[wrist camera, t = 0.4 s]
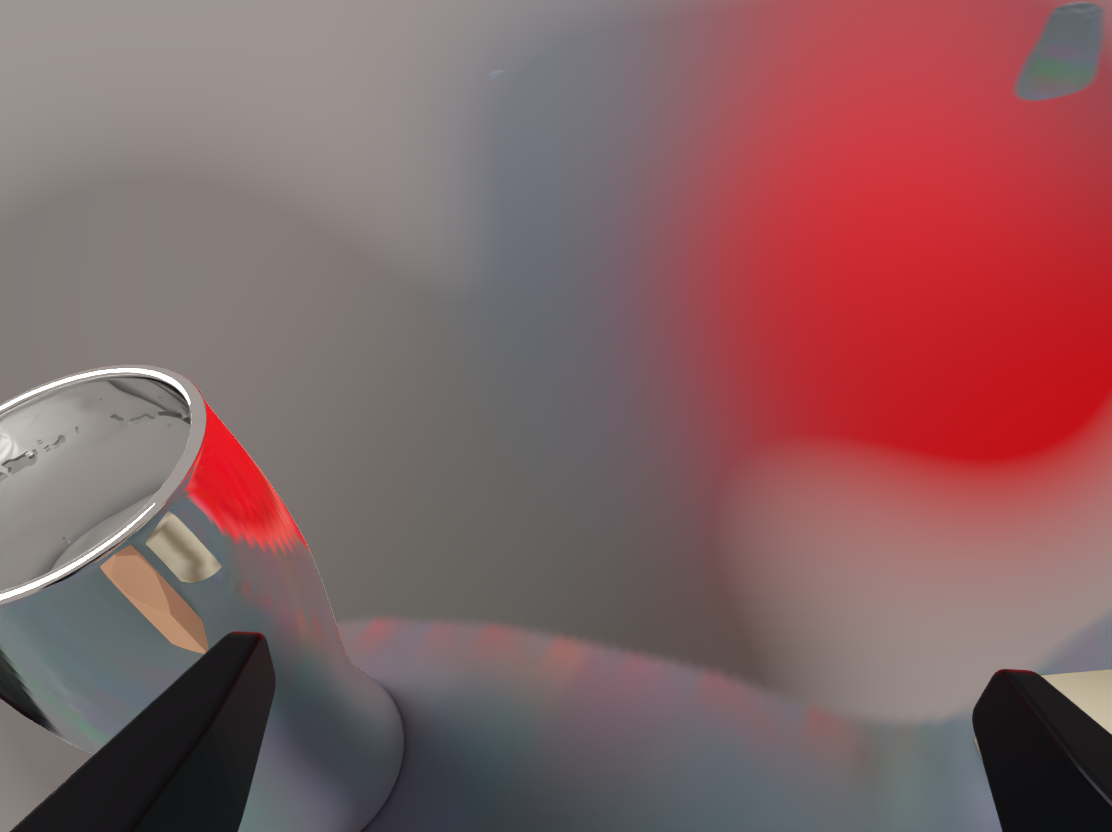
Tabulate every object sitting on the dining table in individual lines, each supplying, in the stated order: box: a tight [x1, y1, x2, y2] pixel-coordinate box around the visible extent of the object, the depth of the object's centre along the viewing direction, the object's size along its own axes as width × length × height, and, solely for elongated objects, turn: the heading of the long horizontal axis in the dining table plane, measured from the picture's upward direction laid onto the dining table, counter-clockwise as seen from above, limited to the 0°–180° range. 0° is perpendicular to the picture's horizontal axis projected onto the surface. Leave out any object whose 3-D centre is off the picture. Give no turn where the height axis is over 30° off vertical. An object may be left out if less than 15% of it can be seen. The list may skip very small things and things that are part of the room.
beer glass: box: [0, 364, 405, 832], centre depth 20 cm, size 7×7×15 cm
